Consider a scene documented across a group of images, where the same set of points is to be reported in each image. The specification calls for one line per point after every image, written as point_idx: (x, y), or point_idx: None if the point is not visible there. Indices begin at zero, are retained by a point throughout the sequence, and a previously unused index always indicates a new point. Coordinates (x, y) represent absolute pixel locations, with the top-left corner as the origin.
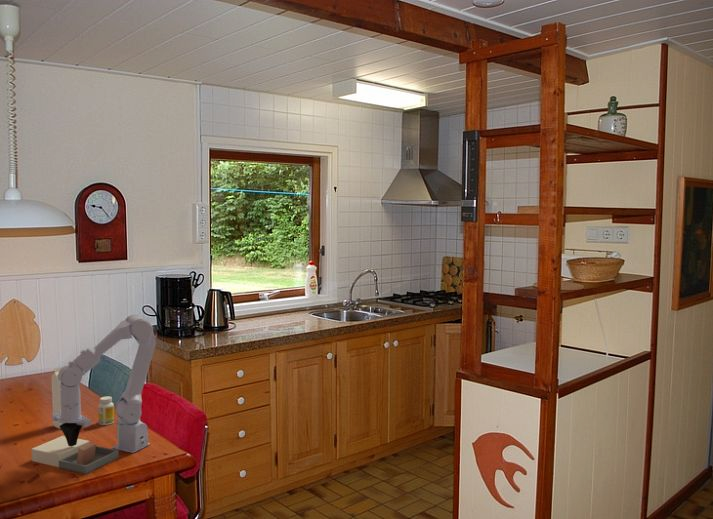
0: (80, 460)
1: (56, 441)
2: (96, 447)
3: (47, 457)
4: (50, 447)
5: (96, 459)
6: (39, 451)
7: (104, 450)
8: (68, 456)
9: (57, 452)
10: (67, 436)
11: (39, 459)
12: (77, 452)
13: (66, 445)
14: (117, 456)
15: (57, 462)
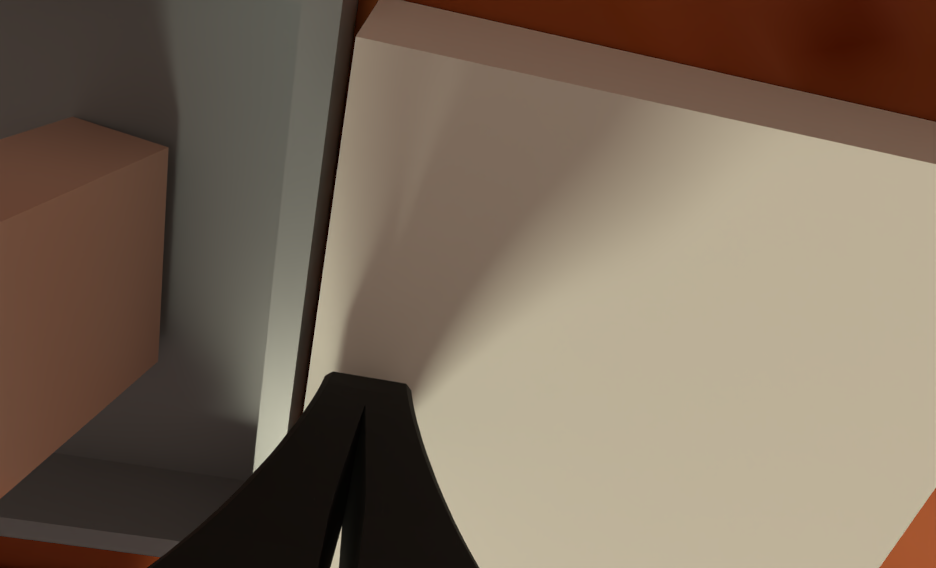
0: (53, 142)
1: (791, 528)
2: (167, 531)
3: (679, 86)
4: (769, 325)
5: None
6: (914, 157)
7: (19, 494)
8: (300, 178)
9: (482, 146)
10: (361, 512)
11: (843, 111)
12: (277, 342)
13: (525, 438)
14: None
15: (423, 16)
